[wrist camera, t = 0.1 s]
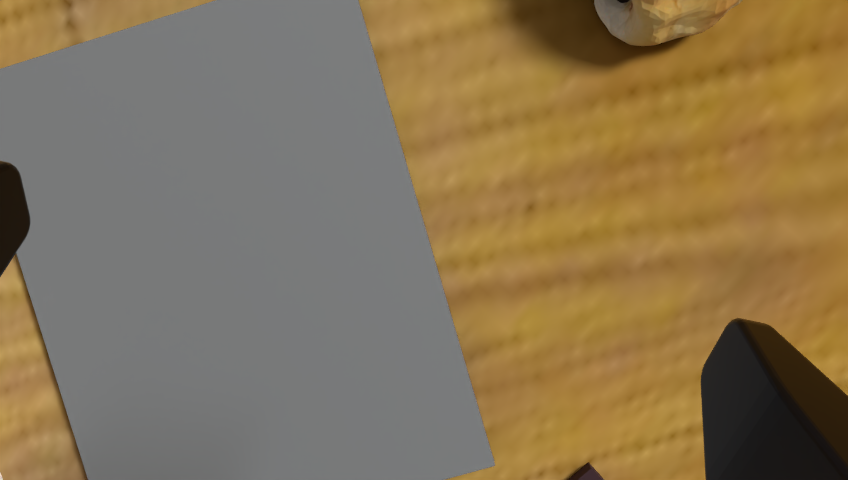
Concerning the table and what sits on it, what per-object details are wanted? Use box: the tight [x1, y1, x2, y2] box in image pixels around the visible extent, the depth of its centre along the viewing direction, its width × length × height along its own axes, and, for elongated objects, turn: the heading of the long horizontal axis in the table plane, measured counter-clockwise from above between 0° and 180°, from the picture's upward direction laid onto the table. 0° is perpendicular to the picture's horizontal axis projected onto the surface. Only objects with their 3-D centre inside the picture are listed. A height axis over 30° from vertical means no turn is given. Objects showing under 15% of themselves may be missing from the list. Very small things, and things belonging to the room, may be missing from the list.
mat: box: [0, 0, 495, 480], centre depth 23 cm, size 18×14×1 cm
